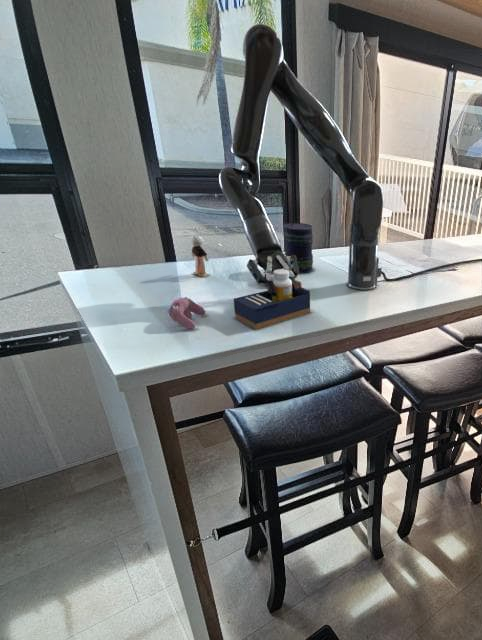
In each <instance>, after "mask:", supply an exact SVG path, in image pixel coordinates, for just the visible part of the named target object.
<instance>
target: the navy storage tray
mask: <svg viewBox="0 0 482 640" xmlns="http://www.w3.org/2000/svg"><path fill="white" fill-rule="evenodd" d="M295 280H296V283H297V285H298V290H297V292H296V293H292V298H290V299H286V300H282V301H279V302H274V301H272V295H270V294H269V292H268V289H267V290H264V291H259V292H255V293H251V294H246V295H243V296H239V297H235V298H233V300H232V301H233V308H234V309H233V310H234V317H235V318H234V319H236V320H238V321H240V322H242V323H243V324H245V325H247V326H249V327H251V328H252V329H254V330H259V329H260V330H261V329H263V328H266V327H270V326H272V325H276V324H279V323H282V322H285V321H287V320H291V319H294V318H297V317H300V316H304V315H307V314H310V313H311V290H310V289H307V288H304V287H302V282H301V281H299V280H297V279H295Z"/></svg>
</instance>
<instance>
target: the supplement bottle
mask: <svg viewBox="0 0 482 640" xmlns="http://www.w3.org/2000/svg"><path fill="white" fill-rule="evenodd" d="M274 277H275V278H273V279H272V281H273V284H274V286H275V288H276V291H277V295H276V296H275V297H272V301H274V302H279V301H282V300H286V299H290V298H292V281H291V280H290V279H289V271H287V270H284V268H283V269H277V270H274Z"/></svg>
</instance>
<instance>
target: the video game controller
mask: <svg viewBox="0 0 482 640" xmlns="http://www.w3.org/2000/svg"><path fill="white" fill-rule="evenodd" d="M167 313H168V315H169V317H170V318H171V320H172V321H173V322H176V323H177V324H178V325H180V326H181V327H183V328H186V329H187V330H194V329H195V328H196V324H195V322H194V321H193V320H191V319H192V318H193V314H195V315H197V316H201V317H204V316H205V315H206V310H205V309H204V308H203V307H202V306H201V305H200V304H197V303H196V302H195V301H194V300H192V299H191V298H188V297H187V296H185V297H180V298H177V299H175V300H173V302H172V303H171V305H170V307H169V308H168V312H167ZM192 313H193V314H192Z"/></svg>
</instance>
